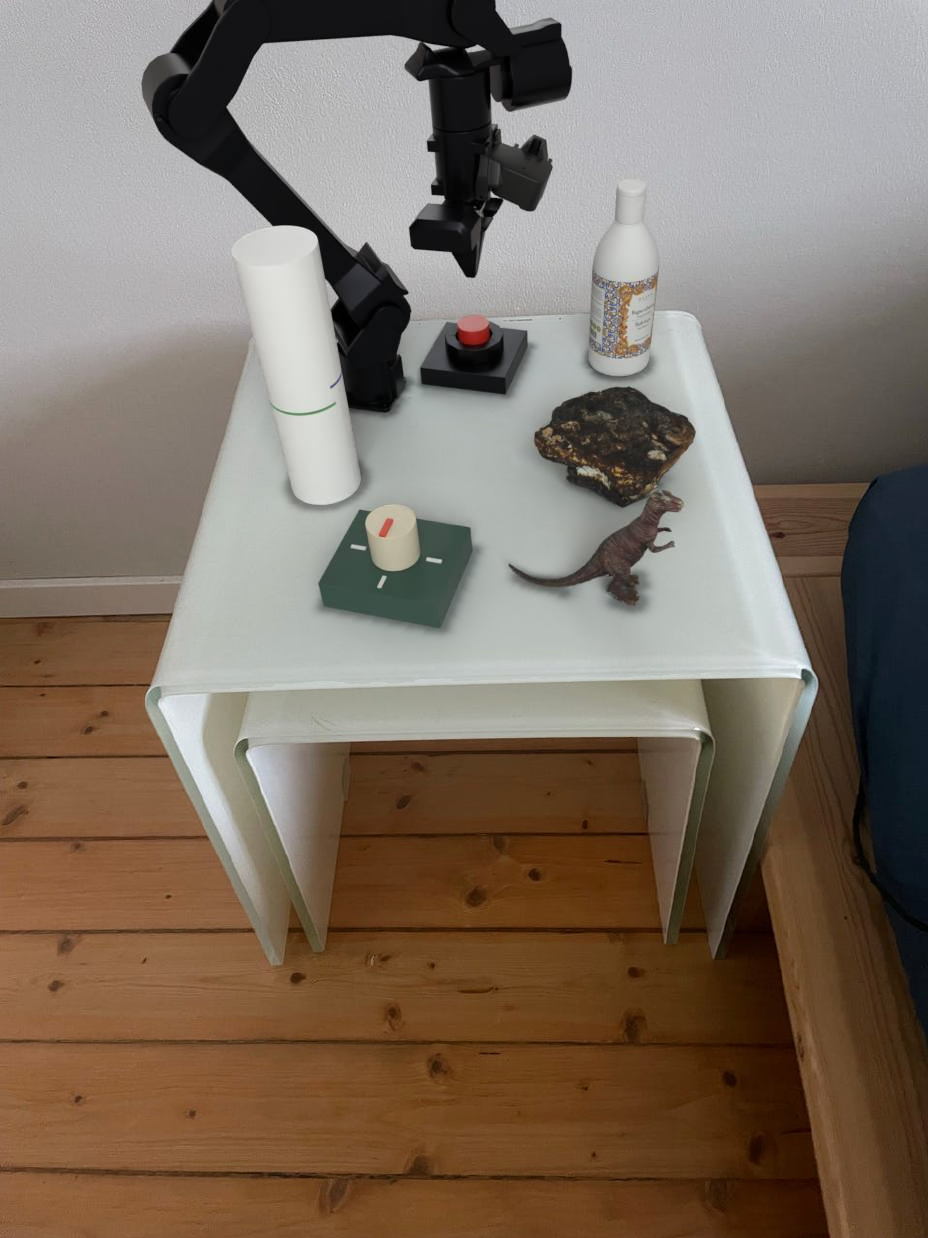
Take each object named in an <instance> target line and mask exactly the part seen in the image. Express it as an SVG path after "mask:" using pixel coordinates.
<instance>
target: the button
mask: <svg viewBox="0 0 928 1238" xmlns="http://www.w3.org/2000/svg"><path fill="white" fill-rule="evenodd" d="M489 321H490V320H489V318H487V317H486V316H483V315H479V314H471V315H466V316H464V317H461V318H460V319H459V320H458V321H457V322H456V323H457V328H458V339H459V341H460V342H461V343H463V344H469V345H476V344H482V343H484V342H486V341H488V340H489V338H490V329H489Z"/></svg>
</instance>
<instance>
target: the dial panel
mask: <svg viewBox="0 0 928 1238" xmlns="http://www.w3.org/2000/svg"><path fill="white" fill-rule="evenodd" d="M372 511H373V510H367V509H358V511H357V512H356V514H355V516H354V518H353V520H352V522H351V523H350V525H349V527H348V529H347V531H346V532H345V534H344V536H343V538H342V540H341V541H340V543H339V545H338V547H337V548H336V550H335V552H334V553H333V556H332V557H331V559H330V560H329V563H328V564H327V566H326V568H325V570H324V572H323V574H322V576H321V577H320V578H319V580H318V583H317V584H318V589H319V593H320V597H321V601H322V605H323V607H326V608H330V609H331V608H332V609H336V610H341V611H346V612H352V613H357V614H363V615H367V616H373V617H377V618H384V619H388V620H395V621H399V622H405V623H410V624H416V625H421V626H426V627H430V628H435V629H440V628H442V624H443V622H444V619H445V617H446V615H447V612H448V610H449V608H450V605H451V603H452V600H453V598H454V596H455V593H456V591H457V589H458V586H459V583H460V581H461V580H462V576H463V574H464V571H465V569H466V567H467V565H468V562H469V560H470V558H471V554H472V552H473V539H472V528H471V527H470V526H465V525H459V524H452V523H446V522H441V521H440V522H439V521H434V520H428V519H421V518H416V521H417V529H418V536H419V544H420V557H419V559H418V560H417V562H416V563H415V564H414V565H412V566H411V567H409V568H407V569H404V570H400V571H386V570H383V569H381V568H379V567H377V566H376V565H375V564H374V563H373V561H372V558H371V552H370V547H369V542H368V536H367V531H366V525H365V522H366V518H367V516H368V515H369V514H370V513H371V512H372Z"/></svg>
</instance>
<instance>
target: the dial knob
mask: <svg viewBox="0 0 928 1238" xmlns="http://www.w3.org/2000/svg"><path fill="white" fill-rule="evenodd" d="M371 511H372V512H371V513H370V514H369V515H368V516H367V518H366V522H365V525H366V531H367V536H368V542H369V547H370V552H371V558H372V561H373V563H374V564H375V565H376V566H377V567H379V568H381V569H383V570H386V571H400V570H404V569H407V568H409V567H411V566H412V565H414V564H415V563H416V562H417V560H418V559H419V557H420V544H419V536H418V529H417V521H416V519H417V515H416V514H415V512H414V511H413V510H412V509H411V508H410V507H408V506H406V505H403V504H399V503H389V504H385V505H381V506H378V507H376V508H374V509H373V510H371Z"/></svg>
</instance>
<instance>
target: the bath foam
mask: <svg viewBox="0 0 928 1238" xmlns="http://www.w3.org/2000/svg"><path fill="white" fill-rule="evenodd" d="M615 191H616V193H615V210H614V220H613V221H612V223H611V224H610V225H609V227H608V228H607V229H606V231H605V232H604V233H603V235H602V237H601V238H600V240H599V242H598V244H597V246H596V248H595V252H594V255H593V259H592V260H593V261H592V268H591V269H592V270H591V288H590V289H591V290H590V311H589V330H588V331H589V334H588V362H589V364H590V366H591V368H593V369H594V370H595V371H596V372H598V373H600V374H603V375H605V376H611V377H628V376H632V375H636V374H637V373H639V372H641V371H643V370H644V369H645V368H646V367H647V365H648V364H649V361H650V356H651V345H652V338H653V328H654V319H655V318H654V317H655V309H656V300H657V291H658V282H659V281H658V280H659V270H660V256H659V249H658V245H657V242H656V240H655V237H654V236H653V234H652V232H651V230H650V228H649V227H648V225H647V223H646V221H645V220H644V219H645V212H646V211H645V210H646V200H647V199H646V197H647V183H646V182H645V181H644V180H642V179H637V178H627V179H622V180H621V181H619V182H618V183H617V184H616V190H615Z"/></svg>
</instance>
